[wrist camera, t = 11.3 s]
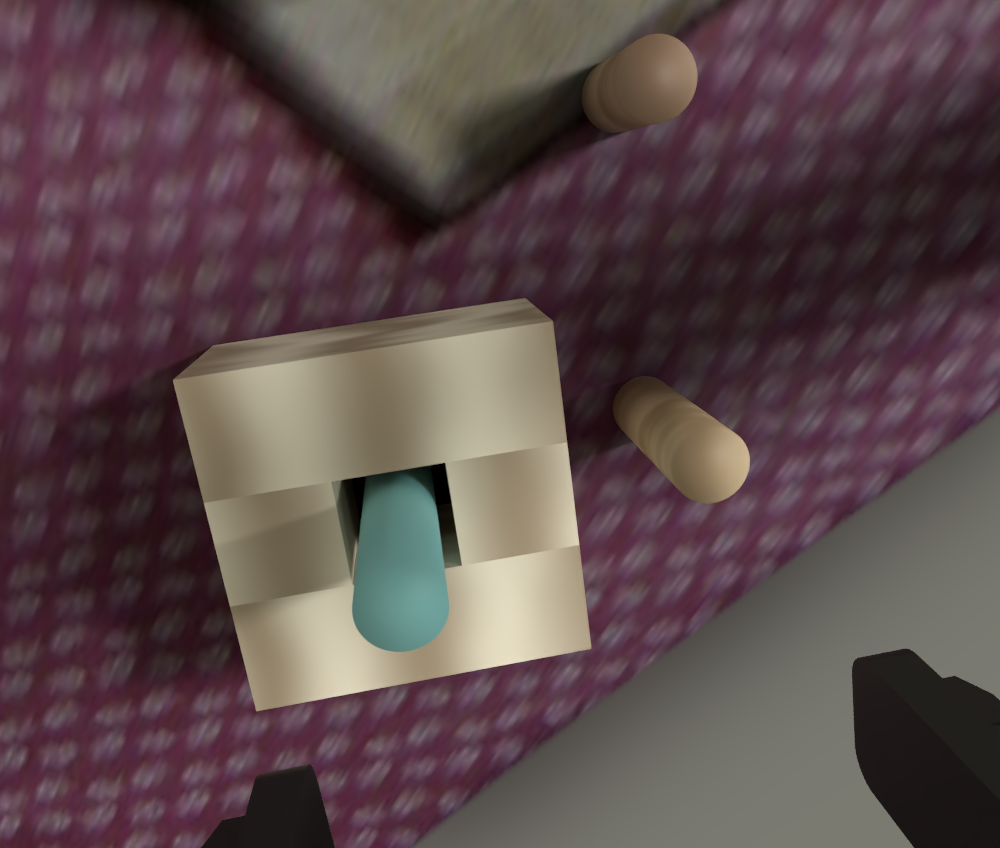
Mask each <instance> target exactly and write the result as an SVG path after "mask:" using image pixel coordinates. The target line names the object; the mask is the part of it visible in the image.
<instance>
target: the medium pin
mask: <svg viewBox="0 0 1000 848" xmlns="http://www.w3.org/2000/svg"><path fill="white" fill-rule="evenodd" d="M613 416H614V419H615V421H616V423H617V425H618V426H619V427H620V429H621V430H622V431H623V432H624V433H625V434H626V435H627V436H628V437H629V438H630V439H631V440H632V441H633V442H634V443H635V444H636V445H637V446H638V447H639V448H640V450H641V451H642V452H643V453H644V454H645V455H646V456H647V457H648V458H649V459H650V460H651V461H652V462H653V463H654V464H655V465H656V466H657V467H658V468H659V470H660V471H661V472H662V473H663V474H664V475H665V476H666V477H667V478H668V479H669V480H670V481H671V482H672V483H673V484H674V485H675V486H676V487H677V488H678V489H679V491H680V492H681V493H682V494H683V495H685V496H686V497H687V498H689V499H691V500H693V501H695V502H699V503H715V502H719V501H722V500H724V499H726V498H728V497H730V496H731V495H733V494H734V493H735V492H736V491H737V490H738V489H739V488H740V487H741V485H742V484H743V483H744V481H745V479H746V477H747V474H748V471H749V465H750V457H749V452H748V449H747V446H746V445H745V443H744V441H743V440H742V439H741V438H740V437H739V436H738V435H737V434H735V433H734V432H733V431H731V430H730V429H728V428H727V427H726V426H724V425H723V424H721V423H720V422H719V421H717V420H716V419H714V418H713V417H712V416H710V415H709V414H707V413H706V412H705V411H703V410H702V409H700V408H699V407H698V406H696V405H695V404H693V403H692V402H691V401H689V400H688V399H686V398H685V397H683V396H682V395H681V394H679V393H678V392H676V391H675V390H674V389H672V388H671V387H669V386H668V385H667V384H665V383H664V382H662V381H661V380H659V379H657V378H654V377H650V376H640V377H636V378H633V379H631V380H629V381H628V382H626V383H625V384H624V385H623V386H622V387H621V388H620V389H619V390H618V392H617V394H616V396H615V398H614V401H613Z"/></svg>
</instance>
